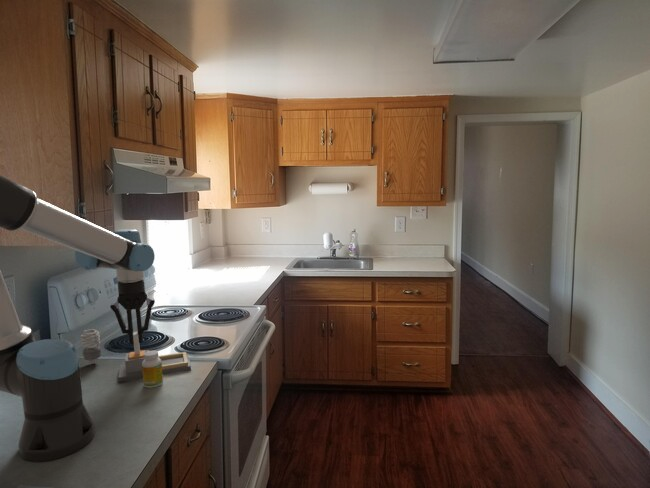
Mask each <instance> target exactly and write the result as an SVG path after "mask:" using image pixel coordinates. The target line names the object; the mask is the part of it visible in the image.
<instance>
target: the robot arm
mask: <svg viewBox="0 0 650 488" xmlns="http://www.w3.org/2000/svg"><path fill="white" fill-rule="evenodd" d="M0 228H2V229H4V230H7V231H10V232H16V231H18V230H21V231H24V232H26V233H28V234H29V233H30V234H32V235H35V236H37V237H39V238H42V239H45V240H48V241H51V242H53V243H55V244H57V245H60V246H63V247H65V248H69V249H72V250H74V259H75V262H76V264H77V266H78V267H79V268H80V269H81V270H84V271H90V270H91V271H92V270H96V269H100V268H101V269H112V270H115V272H116V279H117V281H118V282H117V291H118V296H117V299H116V301H114V302H112V303H111V304H110V307H109V308H110V309H111V310H112V311H113V312H114V314H115V317H116V321H117V323H118V325H119V327H120V330H121V333H122V334H123V335H124V334H125V335H126V334H127V335H128V340H129V344H130V345H133V348H134V349H133V350H134V351H133V352H135V355H138V354H140V351H141V348H140V347H141V346H140V344H143V343H144V342H143V341H144V336H143V332H146V331H148V329H149V325H150V319H151V314H152V313H151V312H152V310H153V309H152V308H153V306H154V305H155V304H156V303H155V298H150V297H149V296H148V295H147V293H146V289H145V280H144V276H145V275H144V272H146V271H148V270H149V269H151V267H152V266H153V264H154V262H155V251H154V249H153V247H152V246H151V245H150V244H147V243H142V240H141V234H140V231H139V230H137V229H134V228H126V229H125V228H124V229H118V230H114V231H109V230H107V229H105V228H103V227H101V226H99V225H96V224H94V223H92V222H91V221H88V220H86V219H84V218H81V217H79V216H77V215H75V214H72V213H70V212H68V211H66V210H64V209H62V208H60V207H57V206H55V205H54V204H51V203H50V202H46V201H45V200H43V199H40V198H38V196H37V194H36V192H35V191H34V190H32V189H30V188H28V187H26V186H23V185H21V184H20V183H17V182H15V181H13V180H11V179H9V178H7V177H5V176H3V175H1V174H0ZM13 302H14V301H13V299H12V298H11V294H10V292H9V289H8V286H7V284H6V281H5V279H4V276H3V273H2V270H1V269H0V391H1V392H3V393H4V392H5V393H7V394H11V395H15V396H17V397H21V398H22V399H21V400H22V407H23V415H24V420H23V424H22V425H23V426H22V429H21V432H20V437H19V441H18V451H19V456H20V457H21V458H22V459H23V460H25V461H29V462H46V461H53V460H58V459H61V458H63V457H66V456H69V455H71V454H74V453H75V452H77V451H80V450H81V449H83V447H84V448H85V446H87V445H88V444H89V443H90V442H91V441H92V440H93V438H94V436H95V423H94V421H93V420H92V417H91V416H90V414H89V412H88V410H87V409H86V406H85V404H84V401H83V391H82V381H81V373H80V371H81V370H80V359H79V354H78V350H77V348H76V346H75V345H74V344H73V343H72V342H70V341H68V340H65V339H59V338H54V339H51V338H46V339H41V340H40V339H39V340H36V338H35V337H34V334H33V331H32V329H31V327H30V326H27V325H25V324H22V323H21V321H20V318H19V315H18V313H17V311H16V308H15V306H14V303H13ZM145 302H146V313H145V319H144V323H143V324H144V325H142V315H141V313H142V312H141V308H142V307H143V305H144V304H145ZM120 306H122V308H123V309H124V310H126V318H127V327H126V322H125V320H124V318H123V315H122V313H121V311H120ZM132 310H135V315H136V318H135V319H136V326H137V327H136V328H137V331H134V325H133V315H132V314H133V312H132Z"/></svg>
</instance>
